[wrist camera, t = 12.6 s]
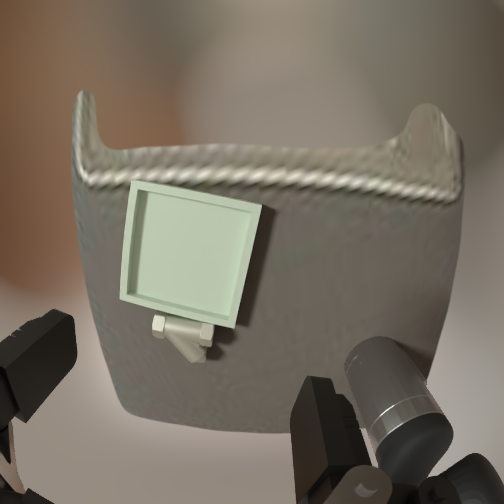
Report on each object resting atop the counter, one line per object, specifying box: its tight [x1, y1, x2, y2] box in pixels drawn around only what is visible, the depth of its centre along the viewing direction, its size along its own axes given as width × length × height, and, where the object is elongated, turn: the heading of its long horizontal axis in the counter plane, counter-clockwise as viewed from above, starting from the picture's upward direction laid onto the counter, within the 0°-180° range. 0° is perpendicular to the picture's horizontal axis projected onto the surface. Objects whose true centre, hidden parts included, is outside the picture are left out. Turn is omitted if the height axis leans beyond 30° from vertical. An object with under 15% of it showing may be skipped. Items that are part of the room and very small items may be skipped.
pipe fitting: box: [152, 310, 215, 363], centre depth 38 cm, size 8×4×7 cm
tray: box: [120, 179, 262, 328], centre depth 36 cm, size 16×16×2 cm
